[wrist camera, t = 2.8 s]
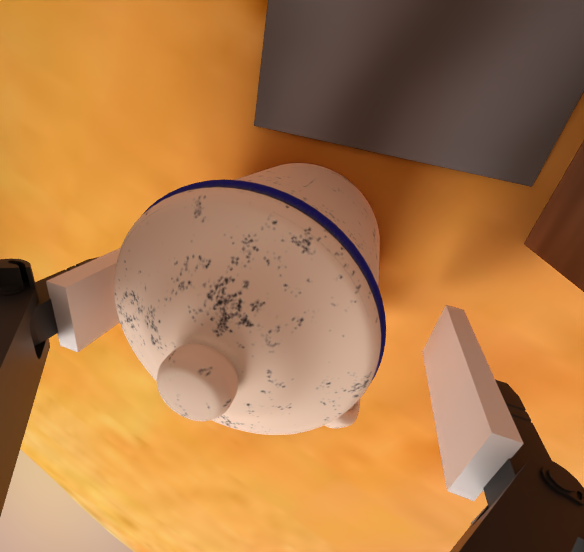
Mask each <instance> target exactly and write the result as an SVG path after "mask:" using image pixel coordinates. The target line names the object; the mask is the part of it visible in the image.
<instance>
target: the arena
mask: <svg viewBox="0 0 584 552" xmlns="http://www.w3.org/2000/svg"><path fill="white" fill-rule="evenodd" d="M583 92H584V0H268V6H267V15H266V24H265V32H264V41H263V50H262V59H261V68H260V77H259V86H258V95H257V104H256V112H255V121H254V126H258V127H262V128H267V129H272V130H276V131H281V132H285V133H290V134H294V135H299V136H303V137H308V138H312V139H317V140H322V141H326V142H331V143H335V144H340V145H344V146H349V147H353V148H358V149H363V150H367V151H372V152H376V153H381V154H385V155H390V156H394V157H399V158H404V159H408V160H413V161H417V162H422V163H426V164H431V165H435V166H440V167H444V168H449V169H454V170H458V171H463V172H467V173H472V174H476V175H481V176H485V177H490V178H495V179H499V180H504V181H508V182H513V183H517V184H522V185H526V186H531V187H532V186H533V184H534V182H535V180H536V178H537V177H538V175H539V173H540V171H541V169H542V167H543V165H544V164H545V162H546V160H547V158H548V156H549V154H550V153H551V151H552V149H553V147H554V145H555V143H556V142H557V140H558V138H559V136H560V134H561V132H562V130H563V129H564V127H565V125H566V123H567V121H568V119H569V118H570V116H571V114H572V112H573V110H574V108H575V107H576V105H577V103H578V101H579V99H580V97H581V96H582V94H583ZM524 244H525V245H526V246H527V247H528V248H530V249H531V250H532V251H533V252H535V253H536V254H537V255H538V256H540V257H541V258H542V259H543V260H545V261H546V262H547V263H548V264H550V265H551V266H552V267H553V268H555V269H556V270H557V271H558V272H560V273H561V274H562V275H563V276H565V277H566V278H567V279H568V280H570V281H571V282H572V283H573V284H575V285H576V286H577V287H578V288H580V289H581V290H582V291H583V292H584V142H583V143H582V145H581V147H580V148H579V150H578V152H577V154H576V155H575V157H574V159H573V160H572V162H571V164H570V166H569V167H568V169H567V171H566V173H565V174H564V176H563V178H562V179H561V181H560V183H559V185H558V186H557V188H556V190H555V191H554V193H553V195H552V197H551V198H550V200H549V202H548V203H547V205H546V207H545V209H544V210H543V212H542V214H541V216H540V217H539V219H538V221H537V222H536V224H535V226H534V228H533V229H532V231H531V233H530V234H529V236H528V238H527V240H526V241H525V243H524Z"/></svg>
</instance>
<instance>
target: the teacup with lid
mask: <svg viewBox="0 0 584 552" xmlns="http://www.w3.org/2000/svg"><path fill="white" fill-rule="evenodd" d="M379 258H380V235H379V229H378V224H377V221H376V217H375V215H374V213H373V210H372V208H371V207H370V205H369V203H368V201H367V200H366V198H365V197H364V195H363V194H362V193H361V192H360V191H359V190H358V188H357V187H355V186H354V185H353V184H352V183H351V182H350V181H349V180H347V179H346V178H345V177H343V176H341V175H340V174H338V173H336V172H334V171H332V170H330V169H328V168H325V167H322V166H318V165H314V164H308V163H289V164H283V165H279V166H276V167H272V168H269V169H266V170H263V171H260V172H257V173H254V174H251V175H248V176H245V177H242V178H238V179H235V180H210V181H204V182H199V183H194V184H191V185H187V186H184V187H181V188H179V189H177V190H175V191H172V192H170V193H168V194H167V195H165V196H164V197H162V198H160V199H159V200H157V201H156V202H155V203H154V204H153V205H151V206H150V207H149V208H148V209H147V210H146V211H145V212H144V213H143V215H142V216H141V217H140V218H139V219H138V220H137V221H136V222H135V224H134V225H133V227H132V228H131V229H130V231H129V232H128V234H127V236H126V238H125V240H124V242H123V244H122V247H121V249H120V252H119V255H118V258H117V262H116V266H115V274H114V296H115V304H116V309H117V313H118V317H119V321H120V324H121V326H122V329H123V332H124V334H125V336H126V338H127V340H128V342H129V344H130V346H131V348H132V349H133V351H134V353H135V354H136V356H137V357H138V359H139V361H140V362H141V363H142V365H143V366H144V367H145V369H146V370H147V371H148V372H149V373H150V375H151V376H152V377H153V378H154V379H155V380H156V381H157V386H158V390H159V393H160V395H161V397H162V399H163V400H164V402H165V403H166V404H167V405H168V406H169V407H170V408H171V409H172V410H173V411H175V412H176V413H178V414H179V415H181V416H183V417H185V418H187V419H190V420H194V421H209V420H212V421H215V422H217V423H220V424H222V425H225V426H228V427H231V428H234V429H238V430H242V431H246V432H251V433H257V434H266V435H288V434H296V433H301V432H305V431H309V430H313V429H316V428H319V427H321V426H323V425H325V426H327V427H329V428H342V427H346V426H350V425H351V424H353V423H354V422H355V420H356V418H357V416H358V412H359V406H360V398H361V396H362V395H363V394H364V393H365V391H366V389H367V388H368V386H369V385H370V383H371V381H372V380H373V378H374V377H375V375H376V372H377V370H378V368H379V366H380V363H381V359H382V356H383V352H384V346H385V339H386V321H385V311H384V306H383V301H382V298H381V294H380V291H379Z"/></svg>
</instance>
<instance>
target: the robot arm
mask: <svg viewBox="0 0 584 552" xmlns="http://www.w3.org/2000/svg"><path fill="white" fill-rule="evenodd" d="M120 249H121V248H119V249H117V250H115V251H113V252H110V253H108V254H106V255H104V256H101V257H98V258H93V259H89V260H86V261H83V262H81V263H79V264H77V265H76V266H72V267H70V268H67V270H63V271H60V272H58V273H56V274H54V275H51V276H49V277H47V278H44V279H42V280H40V281H37V282H35V281H34V277H33V273H32V269H31V265H30V263H29V262H27V261H25V260H21V259H1V260H0V516H1V512H2V509H3V506H4V502H5V499H6V495H7V492H8V488H9V485H10V482H11V478H12V475H13V471H14V468H15V464H16V461H17V458H18V454H19V451H20V447H21V444H22V440H23V437H24V433H25V430H26V427H27V423H28V420H29V416H30V413H31V409H32V406H33V403H34V399H35V396H36V392H37V389H38V385H39V382H40V379H41V375H42V372H43V368H44V365H45V361H46V358H47V354H48V351H49V348H50V343H49V339H48V338H50V337H52V336H53V335H55V334H56V333H58V337H59V341H60V346H63V347H65V348H68V349H71V350H73V351H76V352H79V351H80V350H82V349H83V348H85V347H86V346H87V345H89V344H90V343H91V342H93V341H94V340H96V339H97V338H98V337H100V336H101V335H103V334H104V333H105V332H107V331H108V330H109V329H111V328H112V327H114V326H115V325H116V324H118V323H119V322H120V321H119V317H118V313H117V309H116V304H115V296H114V274H115V266H116V262H117V258H118V255H119V252H120ZM422 352H423V357H424V363H425V368H426V374H427V380H428V385H429V391H430V397H431V402H432V408H433V414H434V419H435V425H436V431H437V436H438V442H439V448H440V453H441V459H442V465H443V470H444V476H445V481H446V487H447V491H448V492H451V493H454V494H456V495H459V496H462V497H464V498H467V499H470V500H472V501H474V500H475V499H476V498H477V497H478V496H479V495H480V493H481V492H482V491H483V490H484V492H485V496H486V499H487V503H488V505H487V506H486V508H485V509H484V510H483V511H482V512H481V513H480V514H479V515H478V516H477V517H476V518H475V520H474V521H473V522H472V523H471V526H470V527H469V529H468V530H467V531H466V532H465V534H464V535H463V536H462V537H461V539H460V540H459V541H458V542H457V544H456V545H455V546H454V547H453V549H452V550H451V551H450V552H584V488H583V487H582V485H581V484H580V483H579V482H578V480H577V479H576V478H575V477H574V476H572V475H571V474H570V473H569V472H568V471H567V470H566V469H564V468H563V467H561V466H560V465H558V464H557V463H555V462H553V461H552V460H551V458H550V456H549V454H548V452H547V451H546V449H545V447H544V445H543V443H542V441H541V439H540V437H539V435H538V433H537V431H536V429H535V427H534V425H533V423H531V419H530V417H529V415H528V413H527V412H525V410H526V409H525V407H524V405H523V404H522V402H521V400H520V398H519V396H518V395H517V394H516V393H515V392H514V391H513V390H512V388H511V387H510V386H509V385H508V384H507V383H504V382H501V381H497V380H495V379H494V376H493V374H492V372H491V370H490V367H489V365H488V363H487V361H486V359H485V356H484V354H483V352H482V350H481V347H480V345H479V343H478V341H477V338H476V336H475V334H474V332H473V330H472V327H471V325H470V323H469V321H468V318H467V316H466V314H465V312H464V310H462V309H459V308H455V307H452V306H448V305H446V306H445V308H444V310H443V312H442V314H441V316H440V318H439V319H438V321H437V323H436V325H435V327H434V329H433V331H432V333H431V335H430V337H429V339H428V341H427V343H426V345H425V347H424V349H423V351H422Z"/></svg>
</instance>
